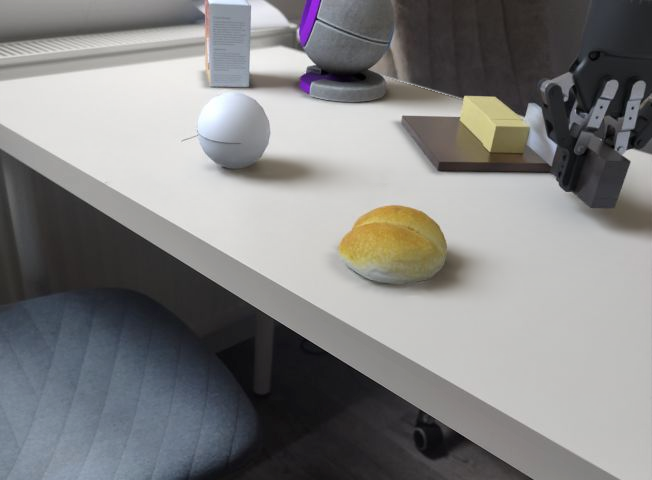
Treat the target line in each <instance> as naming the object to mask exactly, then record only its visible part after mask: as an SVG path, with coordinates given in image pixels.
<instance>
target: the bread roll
mask: <svg viewBox="0 0 652 480" xmlns="http://www.w3.org/2000/svg"><path fill="white" fill-rule="evenodd" d="M447 250H448V244H447V239H446V237H445V235H444V232H443V231H442V229H441V227H440V224H438V222H436V221H435V220H434V219H433V218H432V217H430V216H429V215H428V214H426V213H425V212H424V211H422V210H419V209H416V208H413V207H409V206H404V205H399V204H392V205H391V204H390V205H384V206H378V207H377V208H374V209H372V210H370V211H368V212H366V213H363V214H362V215H361V216H359V218H358V219H357V220H356V221H355V222H354V224H353V226H352V228H351V230H350V231H348V232H347V233H346V234H344V236H343V238H342V239H341V241H340V242H339V245H338V256H339V258H340V261H342V262H343V263H344V264H346V266H347V267H348V268H350V270H352V271H354V272H355V273H357V274H359V275H360V276H362V277H363V278H366V279H367V280H370V281H373V282H377V283H383V284H389V285H390V284H391V285H400V284H402V285H403V284H411V283H418V282H422V281H427V280H429V279H430V278H432V277H434V276H436V274H437V273H439V271H440V270H441V269H442V268H443V266H444V263H445V262H446V258H447V254H448V251H447Z"/></svg>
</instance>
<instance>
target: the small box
mask: <svg viewBox="0 0 652 480" xmlns="http://www.w3.org/2000/svg"><path fill="white" fill-rule="evenodd" d="M251 22H252V5H251V4H250V3H249V2H248V0H204V43H205V44H204V50H205V51H204V52H205V55H204V57H205V58H204V59H205V60H204V61H205V73H206V76H207V82H208V84H209V87H212V88H216V87H217V88H218V87H219V88H220V87H221V88H222V87H223V88H249V86H250V63H251V62H250V61H251V60H250V59H251V58H250V57H251V26H252V25H251Z"/></svg>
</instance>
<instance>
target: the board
mask: <svg viewBox="0 0 652 480" xmlns="http://www.w3.org/2000/svg"><path fill="white" fill-rule="evenodd" d="M400 121H401V122H400V124H401V125H402V126H403V128H405V130H406V132H407V134H409V135H410V137H411V138H412V139H413V140H414V142H415V143H416V145H417V146H418V147H419V148H420V150H421V151H422V152H423V153H424V155H425V156H426V157H427V159H428V160H429V162H430V163H431V164H432V165H433V166H434V168H435V169H436V170H437V171H439V172H440V171H441V172H442V171H446V172H449V171H450V172H514V173H515V172H517V173H518V172H521V173H522V172H525V173H527V172H528V173H551V172H550V169H551V166H550V165H549V164H548V163H547V162H546V161H545V160H543V159H542V158H541V157H540V156H539V155H538V154H537V153H536V152H534V151H533V150H532V149H531V148H530V147H529V146H528V145H525V149H524V153H490V152H489V151H488V150H487V149H486V148H485V147H484V146H483V143H482V142H481V141H480V140H479V139H478V138H477V137H476V136H475V135H474V134H473V133H472V132H471V131H470V130H469V129H468V128H467V127H466V126H465V125H464V124H463V123H462V122H461V121H460V116H445V115H443V116H440V115H439V116H438V115H437V116H436V115H402V116H401V119H400Z"/></svg>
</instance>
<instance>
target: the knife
mask: <svg viewBox="0 0 652 480" xmlns="http://www.w3.org/2000/svg"><path fill="white" fill-rule="evenodd" d="M523 121H524V122H525V123H526V124H527V125H529V126H530V130H529V134H528V137H527V141H526V145H528V146H529V147H530V148H531V149H532V150H533V151H534V152H536V153H537V154H538V155H539V156H540V157H541V158H542V159H543V160H545V161H546V162H547V163H548V164H549V165H550V166H551V169H550V172H549V173H551V174H552V175H553V177H555V178H556V173H557V170H558V166H559V163H560V159H561V156H562V152H563V148H561V147H559V146H558V145H557V144H556V143H554V142H553V141H552V140H551V139H549V138H548V137H547V133H546V128H545V123H544V118H543V113H542V109H541V106H539V105H538V104H537V103H536V102H529V103H528V104H527V109H526V111H525V117H524V119H523ZM583 154H584V155H585V159H584V162H583V166H582V169H581V172H580V176H579V179H578V182H577V185H576V189H575V191H574V192H572V193H573V195H575V196H576V197H577V198H578V199H579V200H580V201H582V202H583V203H584V204H585V205H586V206H587V207H588V208H589V209H592V210H593V209H595V210H596V209H607V210H610V209H611V210H612V209H613V210H615V209H616V205H617V203H618V200H619V197H620V194H621V192H622V189H623V185H624V182H625V180H626V177H627V175H628V171H629V168H630V166H631V160H630V159H629V158H627V157H626V156H624V154H622V155H621V154H620V153H618V152H617V151H616V150H614V149H613V148H611V147H610V146H609V145H607V144H606V143H604V142H603V141H602V139H601V138H599V137H598V136H596V135H595V134H593V136H592V138H591V140H590V143H589V145H588V147H587V150H586V151H585V153H583Z"/></svg>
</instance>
